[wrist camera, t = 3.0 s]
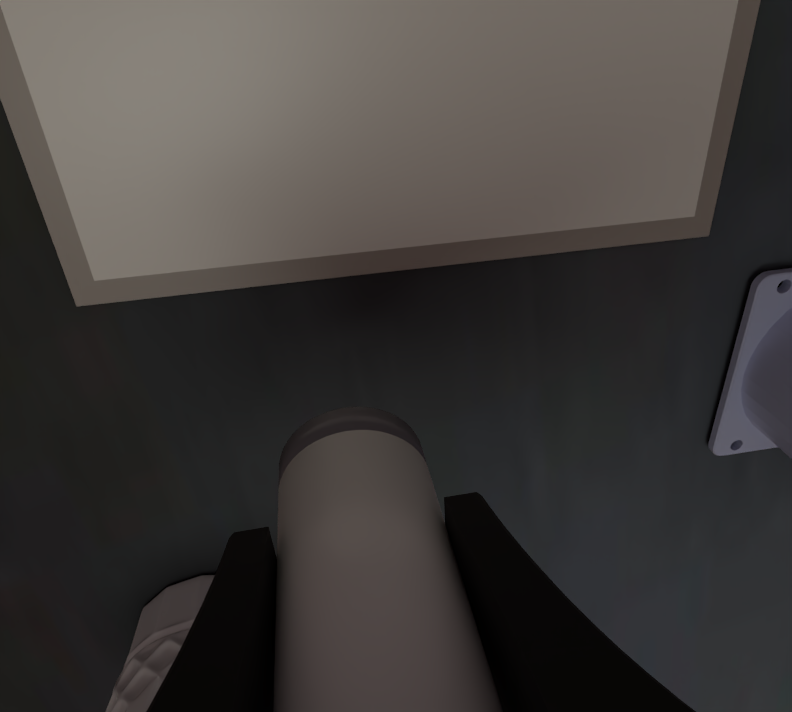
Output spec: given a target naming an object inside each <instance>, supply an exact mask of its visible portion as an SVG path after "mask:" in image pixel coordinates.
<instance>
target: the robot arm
mask: <svg viewBox="0 0 792 712" xmlns="http://www.w3.org/2000/svg"><path fill="white" fill-rule="evenodd" d="M782 281H783V283H782V284H781V286H779V287H778V285H779V283H781V282H782ZM777 287H778V288H777ZM708 447H709V449H710V450H711V451H712V452H713V453H714V454H715V455H717V456H723V455H730V454H736V453H743V452H750V451H756V450H763V449H769V448H776V447H779V448H780V449H781V450H782V451H783V452H784V453H785V454H787V455H788V456H789V457H790V458H791V459H792V268H788V269H780V270H771V271H766V272H763V273H761V274H759V275H758V276H757V277H756V278H755V279H754V280H753V282H752V284H751V287H750V291H749V294H748V298H747V302H746V306H745V309H744V313H743V317H742V321H741V324H740V328H739V332H738V335H737V339H736V343H735V347H734V350H733V354H732V358H731V361H730V365H729V369H728V373H727V376H726V380H725V384H724V387H723V391H722V395H721V399H720V402H719V406H718V410H717V413H716V417H715V421H714V425H713V428H712V432H711V436H710V439H709V443H708ZM444 504H445V525H446V529H447V532H448V535H449V538H450V542H451V545H452V548H453V551H454V555H455V558H456V561H457V564H458V568H459V571H460V574H461V577H462V580H463V583H464V587H465V590H466V593H467V596H468V599H469V603H470V606H471V609H472V612H473V616H474V619H475V622H476V625H477V629H478V632H479V635H480V638H481V642H482V645H483V648H484V651H485V655H486V658H487V661H488V664H489V668H490V671H491V674H492V677H493V681H494V684H495V687H496V690H497V694H498V697H499V700H500V703H501V707H502V710H503V712H696V711H694V710H693V709H692V708H690V707H689V706H688V705H686V704H685V703H684V702H682V701H681V700H680V699H679V698H677V697H676V696H675V695H674V694H673V693H671V692H670V691H669V690H668V689H667V688H665V687H664V686H663V685H662V684H660V683H659V682H658V681H657V680H656V679H654V678H653V677H652V676H651V675H650V674H648V673H647V672H646V671H645V670H644V669H643V668H641V667H640V666H639V665H638V664H637V663H636V662H635V661H633V660H632V659H631V658H630V657H629V656H628V655H627V654H625V653H624V652H623V651H622V650H621V649H620V648H619V647H618V646H617V645H615V644H614V643H613V642H612V641H611V640H610V639H609V638H608V637H607V636H606V635H605V634H604V633H603V632H602V631H601V630H599V629H598V628H597V627H596V626H595V625H594V624H593V623H592V622H591V621H590V620H589V619H588V618H587V617H586V616H585V615H584V614H583V613H582V612H581V611H580V610H579V609H578V608H577V607H576V606H575V605H574V604H573V603H572V602H571V601H570V600H569V599H568V598H567V597H566V596H565V595H564V594H563V593H562V592H561V590H560V589H559V588H558V587H557V586H556V585H555V584H554V583H553V582H552V581H551V580H550V579H549V577H548V576H547V575H546V574H545V573H544V572H543V571H542V570H541V569H540V568H539V566H538V565H537V564H536V563H535V562H534V561H533V560H532V559H531V557H530V556H529V555H528V554H527V553H526V552H525V551H524V549H523V548H522V547H521V546H520V545H519V543H518V542H517V541H516V540H515V539H514V537H513V536H512V535H511V534H510V532H509V531H508V530H507V529H506V527H505V526H504V525H503V524H502V522H501V521H500V520H499V519H498V517H497V516H496V515H495V513H494V512H493V511H492V509H491V508H490V507H489V505H488V504H487V502H486V501H485V500H484V498H483V497H482V496H481V495H480V494H478V493H477V492H474V493H468V494H462V495H456V496H450V497H444ZM276 578H277V559H276V555H275V551H274V547H273V543H272V539H271V535H270V531H269V527H264V528H258V529H252V530H246V531H240V532H234V533H233V534H232V536H231V537H230V538H229V540H228V543H227V545H226V548H225V551H224V554H223V556H222V559H221V561H220V564H219V566H218V569H217V571H216V573H215V576H214V578H213V581H212V583H211V585H210V587H209V590H208V592H207V594H206V596H205V599H204V601H203V603H202V605H201V607H200V610H199V612H198V614H197V616H196V618H195V620H194V622H193V624H192V626H191V628H190V630H189V632H188V634H187V636H186V638H185V641H184V643H183V645H182V647H181V649H180V651H179V653H178V654H177V656H176V658H175V660H174V662H173V664H172V666H171V668H170V669H169V671H168V673H167V675H166V677H165V678H164V680H163V682H162V684H161V686H160V688H159V689H158V691H157V693H156V695H155V697H154V699H153V700H152V702H151V704H150V706H149V708H148V709H147V711H146V712H273V707H274V664H275V621H276Z"/></svg>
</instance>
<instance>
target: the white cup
mask: <svg viewBox="0 0 792 712" xmlns="http://www.w3.org/2000/svg"><path fill="white" fill-rule="evenodd" d="M214 576H215V575H201V576H198V577H195V578H192V579H189V580H186V581H183V582H180V583H177V584H174V585H172V586H169V587H167V588H165V589H164V590H163V591H162V592H161V593H160V594H158V595H157V596H156V597H155V598H154V599H153V600H152V601H150V602H149V603H148V604H147V605H146V606H145V607H144V608H143V610H142V612H141V615H140V618H139V622H138V625H137V628H136V632H135V635H134V638H133V642H132V645H131V648H130V652H129V655H128V657H127V659H126V662H125V665H124V668H123V671H122V673H121V674H120V676H119V678H118V679H117V681H116V683H115V686H114V690H113V694H112V697H111V699H110V702H109V704H108V707H107V709H106V712H146V711H147V709H148V708H149V706H150V704H151V702H152V700H153V699H154V697H155V695H156V693H157V691H158V689H159V688H160V686H161V684H162V682H163V680H164V678H165V677H166V675H167V673H168V671H169V669H170V668H171V666H172V664H173V662H174V660H175V658H176V656H177V654H178V653H179V651H180V649H181V647H182V645H183V643H184V641H185V638H186V636H187V634H188V632H189V630H190V628H191V626H192V624H193V622H194V620H195V618H196V616H197V614H198V612H199V610H200V607H201V605H202V603H203V601H204V599H205V596H206V594H207V592H208V590H209V587H210V585H211V583H212V581H213V578H214Z"/></svg>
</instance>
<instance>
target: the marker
mask: <svg viewBox="0 0 792 712" xmlns="http://www.w3.org/2000/svg"><path fill="white" fill-rule="evenodd" d="M273 712H503V710H502V707H501V703H500V700H499V697H498V694H497V690H496V687H495V684H494V681H493V677H492V674H491V671H490V668H489V664H488V661H487V658H486V655H485V651H484V648H483V645H482V642H481V638H480V635H479V632H478V629H477V625H476V622H475V619H474V616H473V612H472V609H471V606H470V603H469V599H468V596H467V593H466V590H465V587H464V583H463V580H462V577H461V574H460V571H459V568H458V564H457V561H456V558H455V555H454V551H453V548H452V545H451V542H450V538H449V535H448V532H447V529H446V525H445V522H444V518H443V515H442V512H441V509H440V505H439V502H438V499H437V496H436V492H435V489H434V486H433V483H432V479H431V476H430V473H429V470H428V466H427V463H426V460H425V457H424V453H423V450H422V447H421V444H420V441H419V439H418V437H417V435H416V434H415V432H414V431H413V430H412V428H411V427H410V426H409V425H408V424H407V423H405V422H404V421H403V420H401V419H400V418H399V417H397V416H395V415H393V414H391V413H388V412H386V411H383V410H379V409H375V408H368V407H347V408H340V409H336V410H332V411H329V412H326V413H323V414H321V415H319V416H316V417H314V418H313V419H311V420H309V421H308V422H306V423H305V424H303V425H302V426H301V427H300V428H298V429H297V430H296V431H295V433H294V434H293V435H292V436H291V437H290V439H289V440H288V441H287V443H286V445H285V446H284V448H283V451H282V454H281V457H280V462H279V492H278V535H277V578H276V621H275V664H274V707H273Z"/></svg>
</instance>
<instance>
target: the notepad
mask: <svg viewBox="0 0 792 712" xmlns="http://www.w3.org/2000/svg"><path fill="white" fill-rule="evenodd" d="M760 1H761V0H0V99H1V101H2V104H3V107H4V110H5V112H6V115H7V118H8V121H9V123H10V126H11V129H12V131H13V134H14V137H15V140H16V142H17V145H18V148H19V151H20V153H21V156H22V159H23V161H24V164H25V167H26V170H27V172H28V175H29V178H30V181H31V183H32V186H33V189H34V191H35V194H36V197H37V200H38V202H39V205H40V208H41V211H42V213H43V216H44V219H45V222H46V224H47V227H48V230H49V232H50V235H51V238H52V241H53V243H54V246H55V249H56V252H57V254H58V257H59V260H60V262H61V265H62V268H63V271H64V273H65V276H66V279H67V282H68V284H69V287H70V290H71V292H72V295H73V298H74V301H75V303H76V306H85V305H94V304H103V303H112V302H121V301H130V300H139V299H148V298H157V297H166V296H175V295H184V294H193V293H202V292H211V291H220V290H229V289H238V288H247V287H256V286H265V285H274V284H283V283H292V282H301V281H310V280H319V279H328V278H337V277H346V276H355V275H364V274H373V273H382V272H391V271H400V270H409V269H418V268H427V267H436V266H445V265H454V264H463V263H472V262H481V261H490V260H499V259H508V258H517V257H526V256H535V255H544V254H553V253H562V252H571V251H580V250H589V249H598V248H607V247H616V246H625V245H634V244H643V243H652V242H661V241H670V240H679V239H688V238H697V237H705V236H709V233H710V228H711V224H712V219H713V215H714V210H715V205H716V201H717V196H718V192H719V187H720V183H721V178H722V174H723V169H724V164H725V160H726V155H727V151H728V146H729V142H730V137H731V133H732V128H733V123H734V119H735V114H736V110H737V105H738V101H739V96H740V92H741V87H742V82H743V78H744V73H745V69H746V64H747V60H748V55H749V51H750V46H751V41H752V37H753V32H754V28H755V23H756V19H757V14H758V10H759V5H760Z"/></svg>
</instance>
